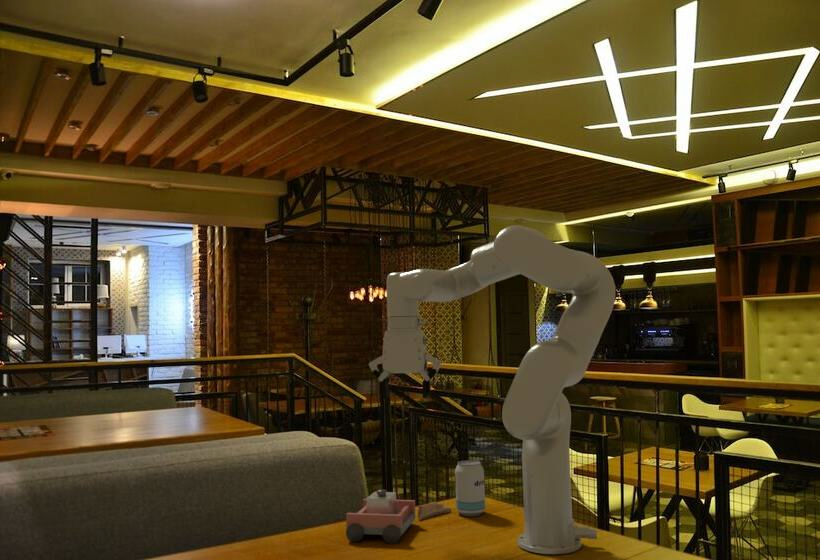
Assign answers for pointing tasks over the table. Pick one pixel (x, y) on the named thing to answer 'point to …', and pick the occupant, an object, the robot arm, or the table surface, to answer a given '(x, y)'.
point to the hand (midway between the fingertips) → (405, 398)
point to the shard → (431, 510)
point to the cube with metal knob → (382, 502)
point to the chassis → (381, 522)
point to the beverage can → (470, 488)
